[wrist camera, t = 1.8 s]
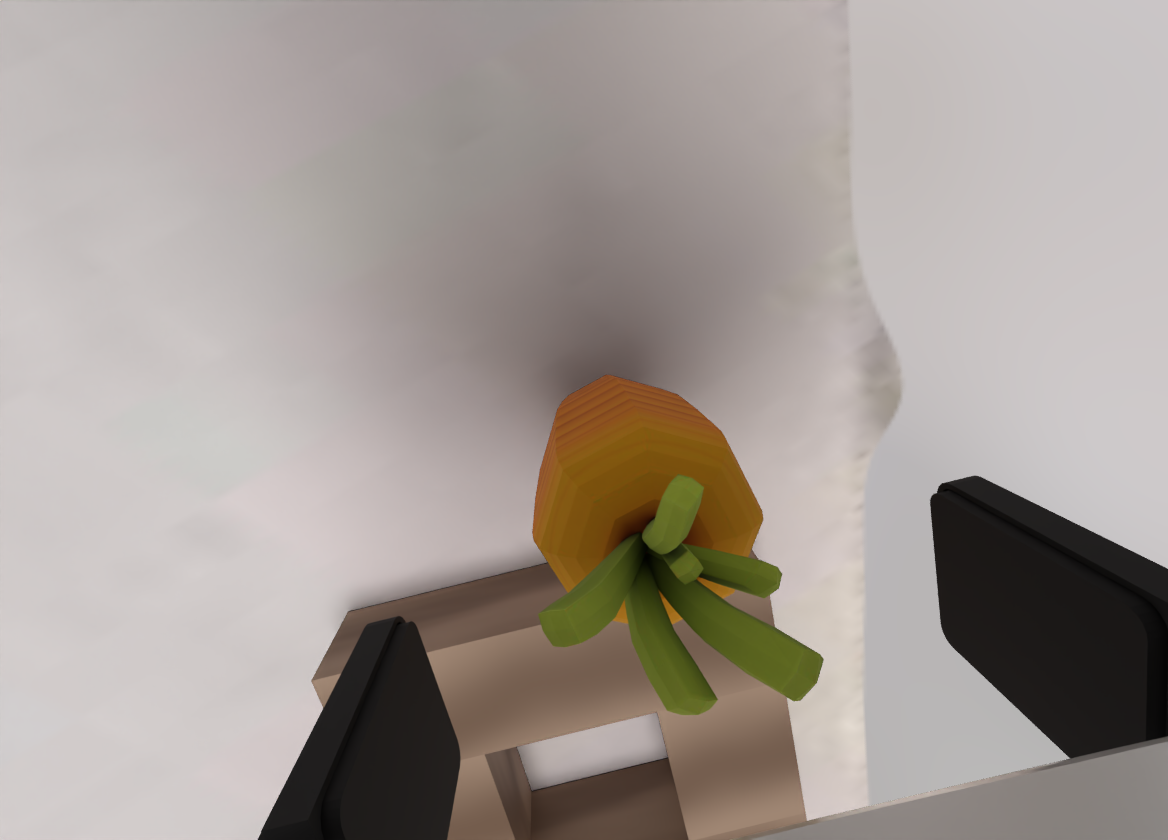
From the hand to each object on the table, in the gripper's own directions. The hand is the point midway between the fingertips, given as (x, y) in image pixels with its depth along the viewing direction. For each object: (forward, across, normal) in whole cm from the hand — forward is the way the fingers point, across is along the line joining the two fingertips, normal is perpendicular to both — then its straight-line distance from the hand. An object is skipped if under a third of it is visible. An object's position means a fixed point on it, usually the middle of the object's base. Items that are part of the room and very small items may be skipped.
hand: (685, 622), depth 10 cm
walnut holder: (+13, +4, +13) cm, 19 cm away
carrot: (+13, 0, -1) cm, 13 cm away
